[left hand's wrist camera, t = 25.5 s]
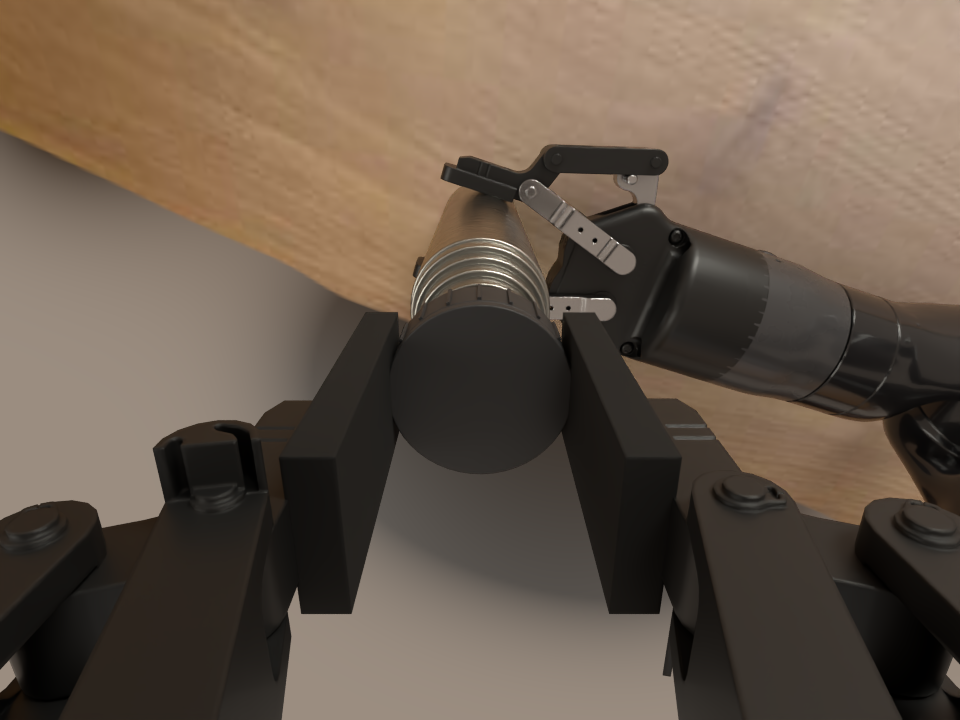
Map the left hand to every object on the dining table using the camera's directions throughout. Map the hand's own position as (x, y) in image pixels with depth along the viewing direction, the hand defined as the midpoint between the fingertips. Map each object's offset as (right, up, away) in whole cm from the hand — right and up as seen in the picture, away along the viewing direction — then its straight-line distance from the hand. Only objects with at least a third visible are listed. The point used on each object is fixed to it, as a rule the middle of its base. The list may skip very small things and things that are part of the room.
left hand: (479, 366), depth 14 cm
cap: (0, 0, -1) cm, 1 cm away
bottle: (0, +9, +22) cm, 24 cm away
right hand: (-2, +7, +16) cm, 18 cm away
